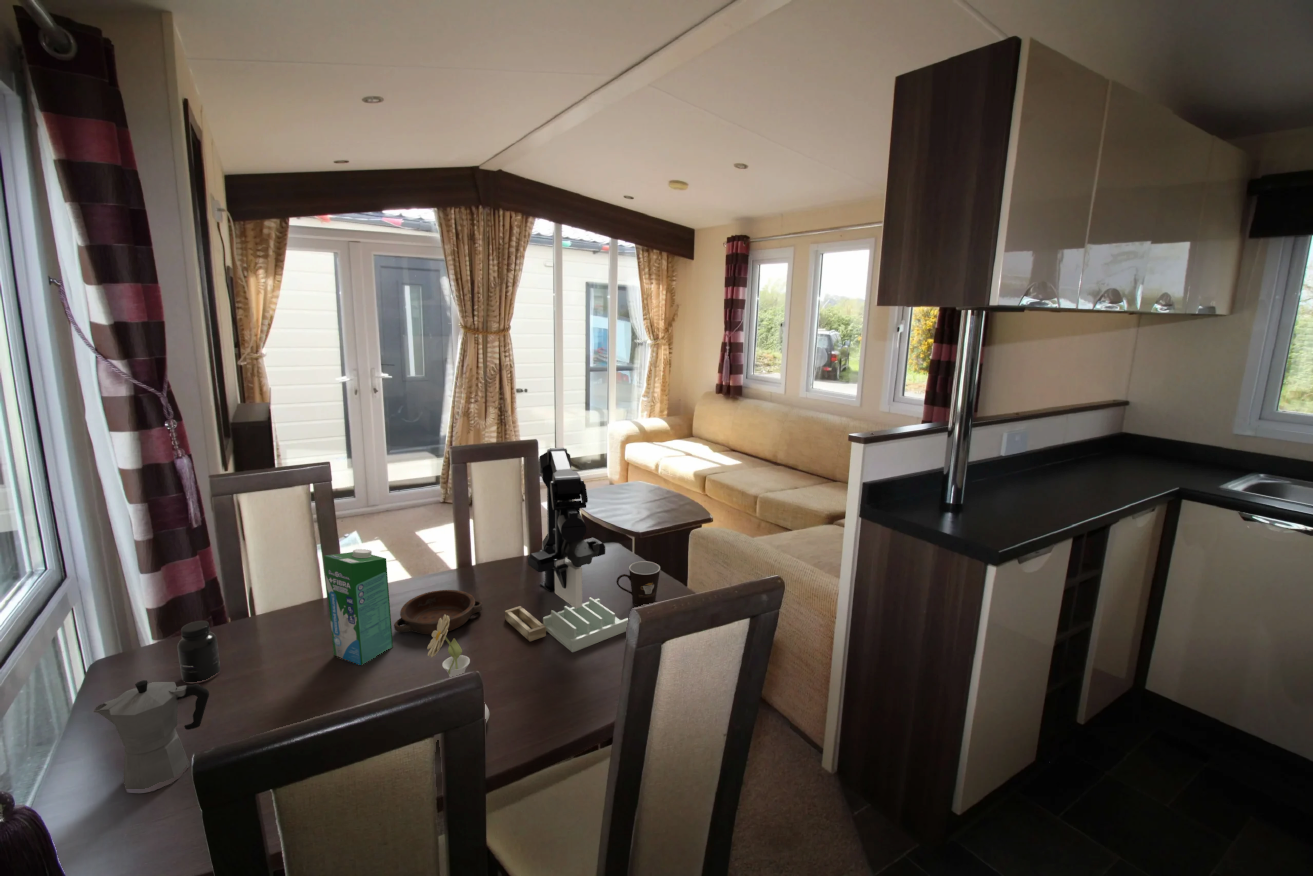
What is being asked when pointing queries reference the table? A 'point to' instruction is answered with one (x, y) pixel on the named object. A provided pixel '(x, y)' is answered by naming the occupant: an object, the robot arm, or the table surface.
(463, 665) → the flower in vase
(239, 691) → the table surface
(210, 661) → the supplement bottle
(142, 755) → the coffeepot
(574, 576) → the white slab
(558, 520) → the robot arm
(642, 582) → the coffee mug
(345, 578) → the milk carton
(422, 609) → the dish
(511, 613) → the stand
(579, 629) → the rack
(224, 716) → the table surface
